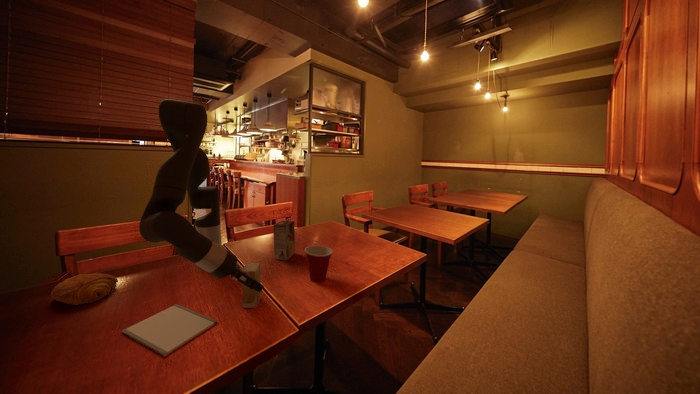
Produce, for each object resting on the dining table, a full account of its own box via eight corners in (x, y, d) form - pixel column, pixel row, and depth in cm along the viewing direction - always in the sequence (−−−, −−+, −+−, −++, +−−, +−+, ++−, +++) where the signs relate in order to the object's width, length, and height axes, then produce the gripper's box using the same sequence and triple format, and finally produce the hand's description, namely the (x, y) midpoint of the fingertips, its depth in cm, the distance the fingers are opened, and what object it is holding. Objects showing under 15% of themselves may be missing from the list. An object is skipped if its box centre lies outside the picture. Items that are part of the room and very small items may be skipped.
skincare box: (248, 297, 87) (246, 262, 85) (261, 297, 87) (260, 262, 85) (241, 308, 80) (240, 271, 78) (256, 308, 81) (255, 271, 79)
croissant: (72, 318, 77) (69, 295, 75) (43, 300, 82) (40, 277, 80) (128, 294, 90) (127, 273, 88) (100, 279, 95) (99, 259, 93)
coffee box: (282, 252, 127) (282, 220, 125) (295, 253, 126) (294, 221, 124) (273, 259, 119) (273, 225, 116) (286, 260, 117) (286, 226, 115)
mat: (121, 333, 68) (121, 330, 68) (176, 306, 81) (176, 303, 81) (163, 356, 61) (163, 354, 60) (216, 322, 73) (216, 320, 73)
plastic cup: (335, 284, 97) (336, 253, 95) (306, 287, 94) (306, 255, 92) (329, 271, 108) (329, 243, 106) (302, 274, 105) (302, 245, 103)
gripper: (234, 255, 70) (274, 282, 80) (216, 242, 80) (253, 267, 90) (214, 280, 67) (258, 304, 77) (198, 263, 77) (239, 286, 87)
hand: (256, 284), depth 84 cm, fingers closed on skincare box, 7 cm apart
